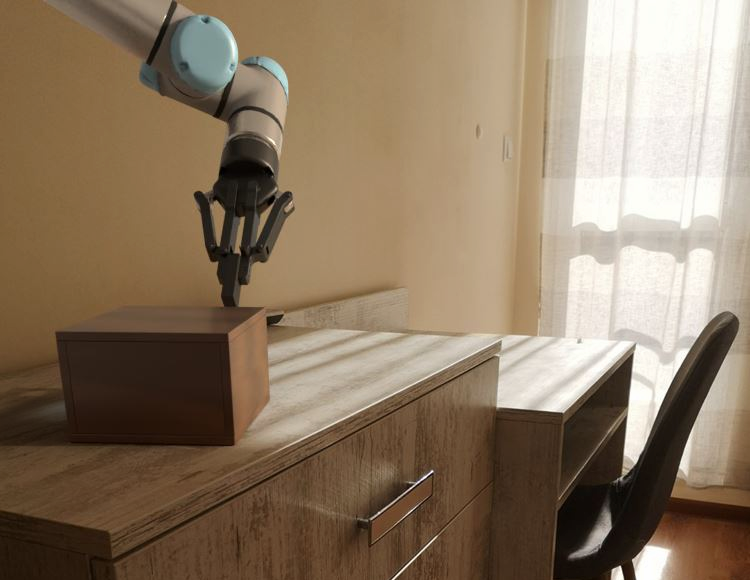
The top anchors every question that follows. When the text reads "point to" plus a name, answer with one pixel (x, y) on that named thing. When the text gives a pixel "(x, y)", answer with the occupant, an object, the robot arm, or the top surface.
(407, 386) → the top surface
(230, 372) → the cabinet
